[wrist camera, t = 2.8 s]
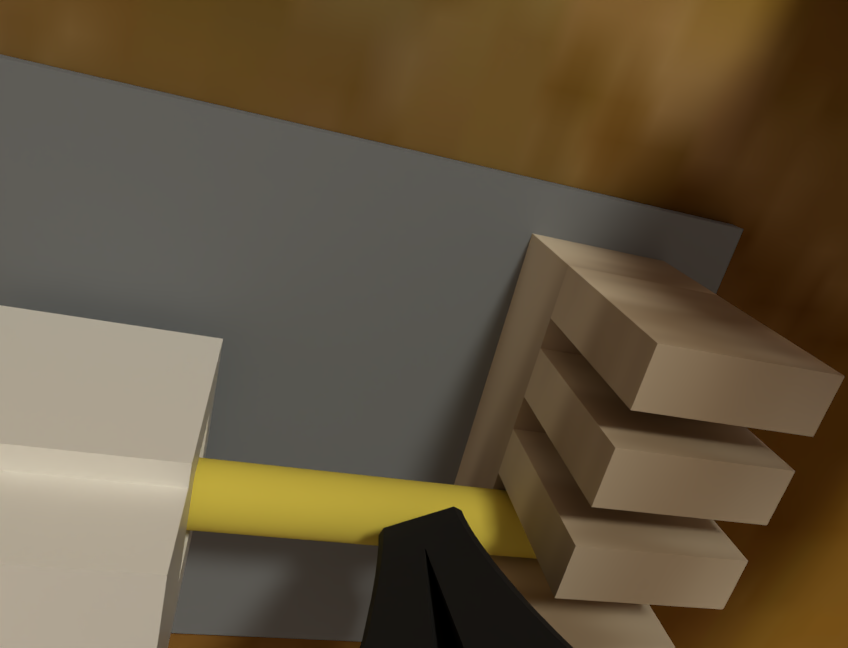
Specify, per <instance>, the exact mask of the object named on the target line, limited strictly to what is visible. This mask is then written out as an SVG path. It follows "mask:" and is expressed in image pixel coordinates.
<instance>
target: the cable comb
mask: <svg viewBox="0 0 848 648" xmlns="http://www.w3.org/2000/svg"><path fill="white" fill-rule="evenodd" d="M844 377H845V376H844V375H842V374H841V373H839V372H837V371H836V370H834V369H833V368H831V367H830V366H828V365H826V364H825V363H823V362H822V361H820V360H819V359H817V358H815V357H814V356H812V355H811V354H809V353H808V352H806V351H804V350H803V349H801V348H800V347H798V346H797V345H795V344H793V343H792V342H790V341H789V340H787V339H786V338H784V337H782V336H781V335H779V334H778V333H776V332H775V331H773V330H771V329H770V328H768V327H767V326H765V325H764V324H762V323H760V322H759V321H757V320H756V319H754V318H753V317H751V316H749V315H748V314H746V313H745V312H743V311H742V310H740V309H738V308H737V307H735V306H734V305H732V304H731V303H729V302H727V301H726V300H724V299H723V298H721V297H720V296H718V295H716V294H715V293H713V292H712V291H710V290H709V289H707V288H705V287H704V286H702V285H701V284H699V283H698V282H696V281H694V280H693V279H691V278H690V277H688V276H687V275H685V274H683V273H682V272H680V271H679V270H677V269H676V268H674V267H672V266H671V265H669V264H668V263H666V262H665V261H661V260H656V259H652V258H647V257H642V256H637V255H633V254H628V253H623V252H618V251H614V250H609V249H604V248H599V247H595V246H590V245H585V244H580V243H576V242H571V241H566V240H561V239H557V238H552V237H547V236H542V235H538V234H533V233H532V236H531V239H530V242H529V246H528V249H527V252H526V255H525V258H524V262H523V265H522V268H521V271H520V274H519V278H518V281H517V284H516V287H515V291H514V294H513V297H512V300H511V303H510V307H509V310H508V313H507V316H506V319H505V323H504V326H503V329H502V332H501V335H500V339H499V342H498V345H497V348H496V351H495V355H494V358H493V361H492V364H491V367H490V371H489V374H488V377H487V380H486V383H485V387H484V390H483V393H482V396H481V399H480V403H479V406H478V409H477V412H476V416H475V419H474V422H473V425H472V428H471V432H470V435H469V438H468V441H467V444H466V448H465V451H464V454H463V457H462V460H461V464H460V467H459V470H458V473H457V476H456V480H455V483H454V485H460V486H470V487H479V488H488V489H497V490H506V491H507V493H508V495H509V497H510V500H511V502H512V504H513V506H514V509H515V511H516V513H517V515H518V518H519V520H520V522H521V524H522V526H523V529H524V531H525V533H526V535H527V538H528V540H529V542H530V544H531V547H532V549H533V551H534V553H535V556H536V558H537V559H533V558H521V557H509V556H496V555H490V557H491V558H492V559H493V561H494V562H495V563H496V564H497V566H498V567H499V568H500V570H501V571H502V572H503V573H504V574H505V576H506V577H507V578H508V579H509V580H510V581H511V583H512V584H513V585H514V586H515V587H516V588H517V590H518V591H519V592H520V593H521V594H522V595H523V597H524V598H525V599H526V600H527V601H528V602H529V603H530V604H531V605H532V606H533V607H534V609H535V610H536V611H537V612H538V613H539V614H540V615H541V616H542V617H543V618H544V619H545V620H546V621H547V622H548V623H549V624H550V625H551V626H552V627H553V628H554V629H555V630H556V631H557V632H558V633H559V634H560V635H561V636H562V637H563V638H564V639H565V640H566V641H567V642H568V643H569V644H570V645H571V646H572V647H573V648H675V646H674V645H673V643H672V641H671V640H670V638H669V636H668V635H667V633H666V631H665V630H664V628H663V626H662V625H661V623H660V621H659V620H658V618H657V617H656V615H655V613H654V612H653V610H652V608H651V607H650V605H664V606H679V607H694V608H708V609H724V607H725V605H726V603H727V601H728V599H729V597H730V595H731V593H732V591H733V589H734V588H735V586H736V584H737V582H738V580H739V578H740V576H741V574H742V572H743V570H744V568H745V566H746V565H747V563H748V560H747V559H746V558H745V557H744V555H743V554H742V553H741V552H740V551H739V550H738V548H737V547H736V546H735V545H734V544H733V542H732V541H731V540H730V539H729V538H728V536H727V535H726V534H725V533H724V532H723V531H722V529H721V528H720V527H719V526H718V525H717V523H716V522H715V521H714V520H720V521H730V522H740V523H749V524H759V525H767V524H768V522H769V521H770V519H771V517H772V515H773V513H774V511H775V509H776V507H777V505H778V503H779V501H780V500H781V498H782V496H783V494H784V492H785V490H786V488H787V486H788V484H789V482H790V480H791V478H792V477H793V475H794V473H795V471H794V470H793V469H792V468H791V467H790V466H789V465H788V464H787V463H785V462H784V461H783V460H782V459H781V458H780V457H779V456H778V455H777V454H775V453H774V452H773V451H772V450H771V449H770V448H769V447H768V446H766V445H765V444H764V443H763V442H762V441H761V440H760V439H759V438H757V437H756V436H755V435H754V434H753V433H752V432H751V431H750V430H748V429H747V428H746V427H749V428H756V429H763V430H770V431H776V432H783V433H790V434H797V435H804V436H811V437H813V436H814V434H815V433H816V431H817V429H818V427H819V425H820V423H821V421H822V419H823V417H824V415H825V413H826V411H827V410H828V408H829V406H830V404H831V402H832V400H833V398H834V396H835V394H836V392H837V390H838V389H839V387H840V385H841V383H842V381H843V379H844Z"/></svg>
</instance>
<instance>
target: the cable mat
mask: <svg viewBox="0 0 848 648" xmlns="http://www.w3.org/2000/svg"><path fill="white" fill-rule="evenodd" d="M742 232H743V229H742V228H739V227H737V226H735V225H733V224H729V223H724V222H720V221H716V220H711V219H707V218H703V217H698V216H694V215H690V214H685V213H681V212H677V211H673V210H668V209H664V208H660V207H655V206H651V205H647V204H642V203H638V202H634V201H629V200H625V199H621V198H617V197H612V196H608V195H604V194H599V193H595V192H591V191H586V190H582V189H578V188H573V187H569V186H565V185H561V184H556V183H552V182H548V181H543V180H539V179H535V178H530V177H526V176H522V175H517V174H513V173H509V172H505V171H500V170H496V169H492V168H487V167H483V166H479V165H474V164H470V163H466V162H462V161H457V160H453V159H449V158H444V157H440V156H436V155H431V154H427V153H423V152H418V151H414V150H410V149H406V148H401V147H397V146H393V145H388V144H384V143H380V142H375V141H371V140H367V139H362V138H358V137H354V136H350V135H345V134H341V133H337V132H332V131H328V130H324V129H319V128H315V127H311V126H306V125H302V124H298V123H294V122H289V121H285V120H281V119H276V118H272V117H268V116H263V115H259V114H255V113H250V112H246V111H242V110H238V109H233V108H229V107H225V106H220V105H216V104H212V103H207V102H203V101H199V100H194V99H190V98H186V97H182V96H177V95H173V94H169V93H164V92H160V91H156V90H151V89H147V88H143V87H138V86H134V85H130V84H126V83H121V82H117V81H113V80H108V79H104V78H100V77H95V76H91V75H87V74H82V73H78V72H74V71H70V70H65V69H61V68H57V67H52V66H48V65H44V64H39V63H35V62H31V61H26V60H22V59H18V58H14V57H9V56H5V55H1V54H0V305H2V306H9V307H15V308H22V309H28V310H35V311H42V312H48V313H55V314H62V315H68V316H75V317H82V318H88V319H95V320H102V321H108V322H115V323H122V324H128V325H135V326H142V327H148V328H155V329H162V330H168V331H175V332H181V333H188V334H195V335H201V336H208V337H215V338H221V339H223V343H222V350H221V356H220V363H219V369H218V376H217V382H216V389H215V396H214V402H213V409H212V415H211V422H210V428H209V435H208V441H207V448H206V455H205V458H210V459H219V460H228V461H237V462H247V463H256V464H265V465H275V466H284V467H293V468H302V469H312V470H321V471H330V472H340V473H349V474H358V475H367V476H377V477H386V478H395V479H405V480H414V481H423V482H432V483H442V484H451V485H454V483H455V480H456V476H457V473H458V470H459V467H460V464H461V460H462V457H463V454H464V451H465V448H466V444H467V441H468V438H469V435H470V432H471V428H472V425H473V422H474V419H475V416H476V412H477V409H478V406H479V403H480V399H481V396H482V393H483V390H484V387H485V383H486V380H487V377H488V374H489V371H490V367H491V364H492V361H493V358H494V355H495V351H496V348H497V345H498V342H499V339H500V335H501V332H502V329H503V326H504V323H505V319H506V316H507V313H508V310H509V307H510V303H511V300H512V297H513V294H514V291H515V287H516V284H517V281H518V278H519V274H520V271H521V268H522V265H523V262H524V258H525V255H526V252H527V249H528V246H529V242H530V239H531V236H532V233H533V234H538V235H542V236H547V237H552V238H557V239H561V240H566V241H571V242H576V243H580V244H585V245H590V246H595V247H599V248H604V249H609V250H614V251H618V252H623V253H628V254H633V255H637V256H642V257H647V258H652V259H656V260H661V261H665V262H666V263H668V264H669V265H671V266H672V267H674V268H676V269H677V270H679V271H680V272H682V273H683V274H685V275H687V276H688V277H690V278H691V279H693V280H694V281H696V282H698V283H699V284H701V285H702V286H704V287H705V288H707V289H709V290H710V291H712V292H713V293H715V294H716V293H717V290H718V288H719V286H720V283H721V281H722V279H723V276H724V274H725V272H726V269H727V267H728V265H729V262H730V260H731V258H732V255H733V253H734V251H735V248H736V246H737V243H738V241H739V239H740V236H741V234H742ZM377 555H378V546H374V545H362V544H350V543H338V542H326V541H313V540H301V539H289V538H277V537H265V536H252V535H240V534H228V533H216V532H204V531H193V532H192V536H191V541H190V546H189V550H188V555H187V560H186V564H185V569H184V574H183V578H182V583H181V588H180V592H179V597H178V602H177V606H176V611H175V616H174V620H173V625H172V630H171V633H184V634H206V635H228V636H250V637H271V638H293V639H315V640H337V641H358V642H362V638H363V634H364V629H365V624H366V620H367V615H368V610H369V606H370V601H371V596H372V590H373V584H374V579H375V572H376V565H377Z"/></svg>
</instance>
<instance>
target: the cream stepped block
mask: <svg viewBox="0 0 848 648" xmlns="http://www.w3.org/2000/svg"><path fill="white" fill-rule="evenodd" d="M222 343H223V339H221V338H215V337H208V336H201V335H195V334H188V333H181V332H175V331H168V330H162V329H155V328H148V327H142V326H135V325H128V324H122V323H115V322H108V321H102V320H95V319H88V318H82V317H75V316H68V315H62V314H55V313H48V312H42V311H35V310H28V309H22V308H15V307H9V306H2V305H0V648H168V644H169V639H170V634H171V630H172V625H173V620H174V616H175V611H176V606H177V602H178V597H179V592H180V588H181V583H182V578H183V574H184V569H185V564H186V560H187V555H188V550H189V546H190V541H191V536H192V532H193V531H191V530H186V528H187V522H188V515H189V508H190V501H191V494H192V488H193V481H194V476H195V472H196V468H197V464H198V460H199V457H200V458H205V455H206V448H207V441H208V435H209V428H210V422H211V415H212V409H213V402H214V396H215V389H216V382H217V376H218V369H219V363H220V356H221V350H222Z"/></svg>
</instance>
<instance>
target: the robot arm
mask: <svg viewBox="0 0 848 648" xmlns="http://www.w3.org/2000/svg"><path fill="white" fill-rule="evenodd" d="M360 648H573V647H572V646H571V645H570V644H569V643H568V642H567V641H566V640H565V639H564V638H563V637H562V636H561V635H560V634H559V633H558V632H557V631H556V630H555V629H554V628H553V627H552V626H551V625H550V624H549V623H548V622H547V621H546V620H545V619H544V618H543V617H542V616H541V615H540V614H539V613H538V612H537V611H536V610H535V609H534V607H533V606H532V605H531V604H530V603H529V602H528V601H527V600H526V599H525V598H524V597H523V595H522V594H521V593H520V592H519V591H518V590H517V588H516V587H515V586H514V585H513V584H512V583H511V581H510V580H509V579H508V578H507V577H506V576H505V574H504V573H503V572H502V571H501V570H500V568H499V567H498V566H497V564H496V563H495V562H494V561H493V559H492V558H491V557H490V555H489V554H488V553H487V551H486V550H485V549H484V547H483V546H482V544H481V543H480V542H479V540H478V539H477V537H476V536H475V534H474V532H473V531H472V529H471V528H470V526H469V524H468V522H467V521H466V519H465V517H464V515H463V512H462V510H460V509H458V508H456V507H450V508H447V509H444V510H440V511H437V512H434V513H431V514H427V515H424V516H421V517H418V518H414V519H411V520H408V521H405V522H401V523H398V524H395V525H392V526H388V527H385V528H383V529H382V531H381V532H380V534H379V538H378V555H377V565H376V572H375V579H374V584H373V590H372V596H371V601H370V606H369V610H368V615H367V620H366V624H365V629H364V634H363V638H362V642H361V646H360Z"/></svg>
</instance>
